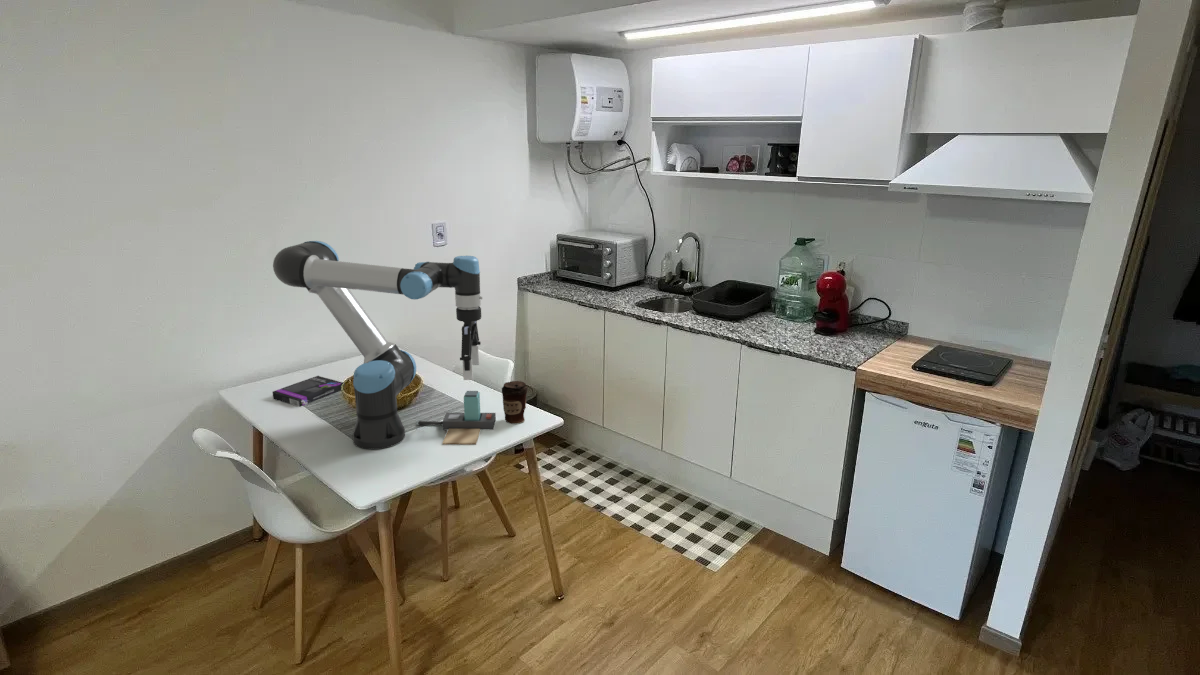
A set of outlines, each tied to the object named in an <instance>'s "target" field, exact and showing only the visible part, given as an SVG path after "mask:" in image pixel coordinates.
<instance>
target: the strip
mask: <svg viewBox="0 0 1200 675" xmlns="http://www.w3.org/2000/svg"><path fill="white" fill-rule="evenodd" d="M496 414H497V413H496V412H480V418H481V419H480V421H465V417H464V412H445V415H444V417H443V420H441V421H440V420H439V421H438V420H437V421H436V420H433V421H431V420H426V421H425V420H419V421H418V422H417V425H419V426H442V430H447V431H448V429H480V431H482V430H483V431H486V430H489V431H490V430H491V431H492V430H494V429H495V426H496V425H495V424H496V421H497V420H496V419H497V418H496V417H497V416H496Z"/></svg>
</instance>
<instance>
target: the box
mask: <svg viewBox="0 0 1200 675" xmlns="http://www.w3.org/2000/svg"><path fill="white" fill-rule="evenodd" d="M343 383H344V382H342V381H339V380H335V379H331V378H327V377H323V376H320V375H316V376H313V377H310V378H307V379H304V380H302V381H299V382H296V383H293V384H291V385H287V386H285V387H281V388H279V389H275V390H273V391H272V399H273V400H275V401H278V402H282V403H285V404H289V405H291V406H296V407H302V406H305V405H308V404H311V403H313V402H315V401H318V400H320V399H323V398H326V397H328V396H331V395H333V394H335V393H339V392H340V391H342V390H341V386H342V384H343Z"/></svg>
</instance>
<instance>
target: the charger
mask: <svg viewBox="0 0 1200 675" xmlns="http://www.w3.org/2000/svg"><path fill="white" fill-rule="evenodd" d="M480 394H481V392H479V391H478V390H466V391H465V394H464V396H463V411H464V412H463V413H464V417H465V421H480V419H481V418H480V413H481V398H480V397H481V396H480Z"/></svg>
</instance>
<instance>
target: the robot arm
mask: <svg viewBox="0 0 1200 675" xmlns="http://www.w3.org/2000/svg"><path fill="white" fill-rule="evenodd" d="M339 260H340V259H339V255H338V253H337V251H336V250H335V248H333V247H332V246H331V245H330V244H328V243H326V242H324V241H321V240H308V241H307V240H306V241H304V242H302V243H299V244H294V245H292V246H291V245H290V246H287V247H285V248H283V249H281V250H280V251H278V252H277V254H276V255H275V257H274V258H273V262H272V263H273V264H272V269H273V272H274V275H275V276H276V278H277V279H278V280H279V281H280V282H281V283H283V284H284V285H287V286H290V287H294V288H305V289H306V290H307V291H308V292H309V294H310V293H311V294H316V295H317V296H318V297H319V299H320V300H321V301H322V303H323V304H324V305H325V307H326V308H327V310H328V311H329V312H330V313H331V314H332V316H333V317H334V319H335V320H336V321H337V323H338V324H339V325H340V327H341V328H342V329H343V331H344V332H345V333H346V334H347V337H348V338H349V339H350V340H351V341H352V343H353V345H354V346H355V347H356V348H357V349H358V351H359V352H360V353H361V354H362V356H363V363H362V364H359V365H358V366H357V367H356V368H355V370H354V372H353V381H352V383H353V389H354V390H353V391H354V398H355V408H356V421H355V425H354V429H353V433H352V441H353V444H354V445H355V446H356V447H357V448H360V449H363V450H365V449H366V450H380V449H386V448H390V447H392V446H395V445H397V444H400V443H401V442H402V441H403V440H404V439H405V437H406V430H405V429H406V428H405V426H404V423H403V422H402V419H401V417H400V415H399V413H398V403H397V401H398V400H397V396H398V395H399V394H400V393H401V392H402V391H403V390H404V389H405V388H407V387H408V386H410V384H411V383H412V381H413V380H414V378H415V377H416V374H417V364H416V361H415V359H414V357H413V355H411V353H409V352H408V351H406V350H402V349H400V348H399V347H398V345H397V343H395V342H390V341H388V340H387V339H386V337H385V336H384V335H383V333H382V331H381V330H380V329H379V328H378V327H377V325H376V324H375V323H374V321H373V319H372V318H371V317H370V315H368V314H369V313H367V312H366V310H365V308H364V307H363V306H362V305H361V304H360V302H359V300H358V299H357V298H356V297H355V295H354V294H353V293H352V291H351V290H358V291H364V292H365V291H366V292H376V293H383V294H384V293H385V294H395V295H403V296H405V297H406V298H408V299H409V300H410V299H411V300H419V299H423V298H425V297H427V296H428V295H429V294H430V293H432V292H433V291H435V290H436V289H438V288H451V289H452V288H454V294H455V295H454V296H455V298H454V300H455V307H456V309H455V311H456V312H455V313H456V314H455V315H456V320H457V321H458V322H463V325H462V326H461V354H460V355H461V357H459V361H462V371H463V372H462V373H463V374H462V375H463V381H473V380H474V374H473V372H474V371H473V366H480V352H479V346H481V343H482V342H481V341H480V337H479V330H478V323H477V322H478V321H480V320H481V319H482V307H481V304H482V303H481V300H483V296H482V295H481V276H480V275H481V274H480V273H481V271H480V263H479V258H477V257H476V256H473V255H458V256H454V257H453V261H452V262H434V261H432V262H430V261H422V262H421V261H420V262H417V263H416V264H415V266H414V267H413V269H412V268H403V267H396V266H387V265H378V264H377V265H375V264H367V263H358V262H349V261H339Z"/></svg>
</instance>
